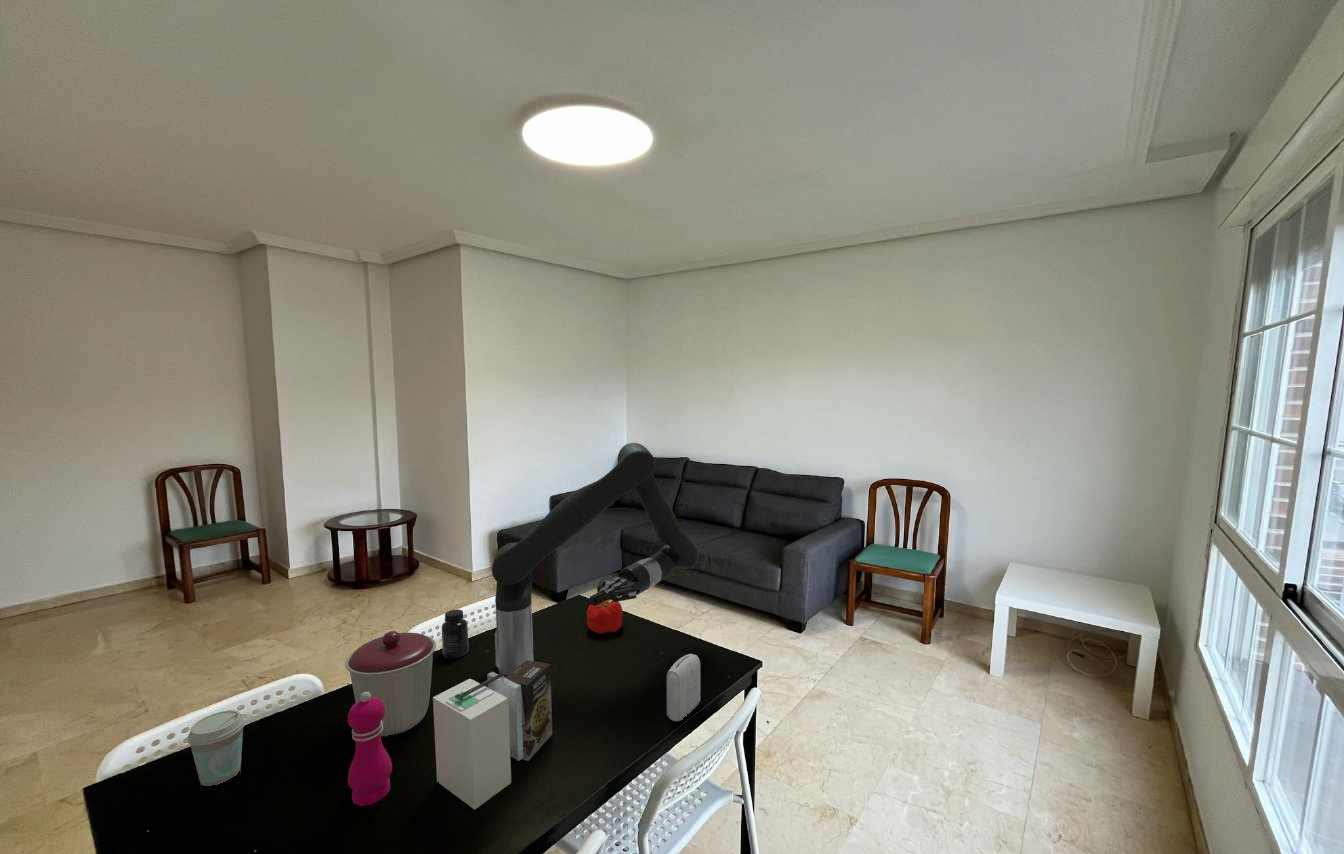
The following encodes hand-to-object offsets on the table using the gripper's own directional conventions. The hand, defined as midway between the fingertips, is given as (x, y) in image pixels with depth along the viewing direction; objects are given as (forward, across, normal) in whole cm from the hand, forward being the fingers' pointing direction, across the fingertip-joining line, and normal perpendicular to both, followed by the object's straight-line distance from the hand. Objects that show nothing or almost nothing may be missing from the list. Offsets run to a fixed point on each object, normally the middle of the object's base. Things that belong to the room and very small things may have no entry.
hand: (591, 601), depth 131 cm
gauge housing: (+36, +3, +21) cm, 42 cm away
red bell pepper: (-24, -25, +25) cm, 43 cm away
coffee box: (+22, +2, +22) cm, 32 cm away
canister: (+37, -28, +20) cm, 51 cm away
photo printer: (-8, +20, +25) cm, 33 cm away
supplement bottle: (+12, -47, +21) cm, 53 cm away
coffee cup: (+66, -36, +18) cm, 78 cm away
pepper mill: (+50, -9, +20) cm, 54 cm away
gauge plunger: (+33, +3, +19) cm, 38 cm away
